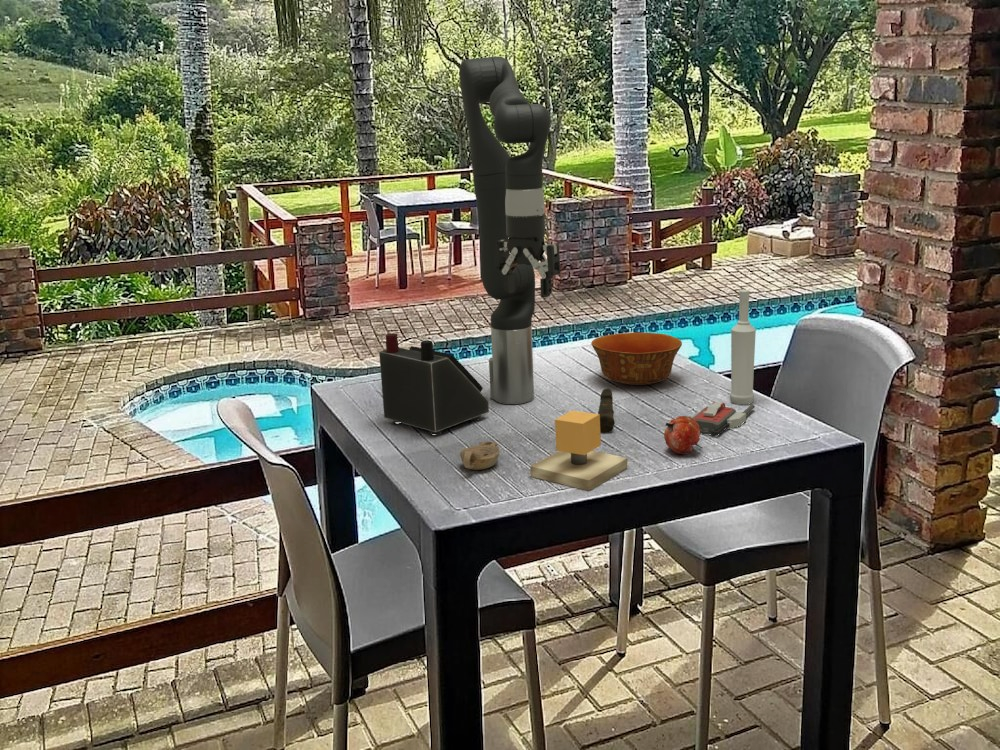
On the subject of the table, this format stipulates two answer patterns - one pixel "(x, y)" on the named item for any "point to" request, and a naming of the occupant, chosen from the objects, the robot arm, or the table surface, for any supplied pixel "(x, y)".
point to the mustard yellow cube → (577, 432)
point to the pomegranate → (682, 434)
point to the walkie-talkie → (719, 418)
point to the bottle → (742, 354)
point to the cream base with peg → (579, 468)
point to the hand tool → (606, 411)
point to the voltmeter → (427, 387)
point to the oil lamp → (480, 456)
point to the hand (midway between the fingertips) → (528, 294)
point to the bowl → (636, 356)
